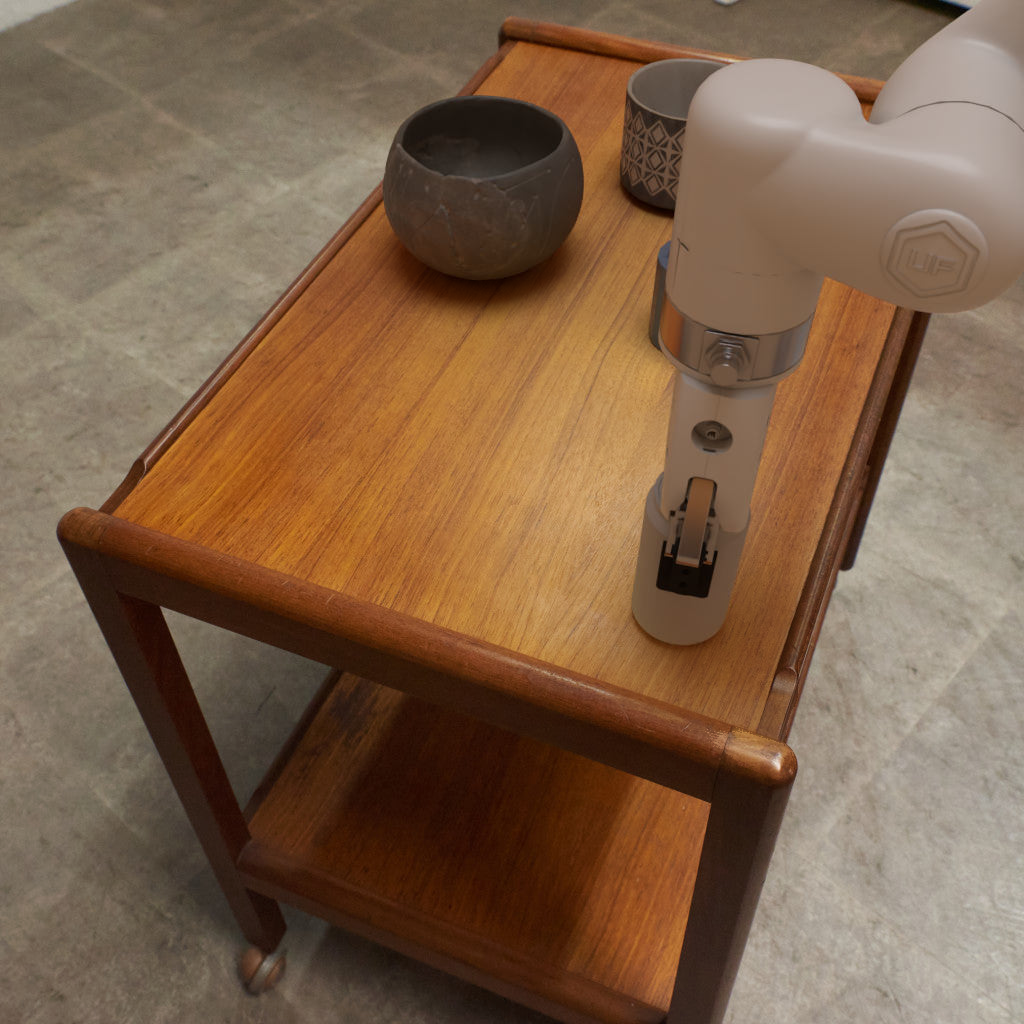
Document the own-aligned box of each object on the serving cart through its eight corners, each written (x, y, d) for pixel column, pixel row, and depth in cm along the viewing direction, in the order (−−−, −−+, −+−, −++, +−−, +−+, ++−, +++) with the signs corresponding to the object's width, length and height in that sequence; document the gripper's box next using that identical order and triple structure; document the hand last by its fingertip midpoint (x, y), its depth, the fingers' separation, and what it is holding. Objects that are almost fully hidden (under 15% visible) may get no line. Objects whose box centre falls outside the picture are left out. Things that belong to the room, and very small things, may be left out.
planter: (739, 157, 113) (757, 60, 105) (745, 224, 104) (764, 124, 96) (620, 151, 113) (628, 54, 106) (616, 217, 105) (625, 117, 97)
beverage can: (612, 596, 73) (627, 476, 64) (690, 563, 75) (715, 442, 66) (663, 665, 70) (685, 547, 61) (743, 629, 72) (777, 509, 63)
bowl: (358, 290, 97) (342, 163, 87) (434, 190, 108) (427, 68, 99) (543, 332, 93) (547, 203, 83) (602, 224, 104) (611, 100, 95)
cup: (724, 319, 94) (739, 242, 88) (715, 363, 90) (730, 285, 84) (655, 308, 95) (664, 231, 89) (643, 351, 91) (652, 273, 85)
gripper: (796, 447, 48) (733, 671, 61) (821, 236, 59) (763, 464, 72) (631, 418, 49) (605, 644, 62) (686, 217, 60) (654, 444, 74)
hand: (690, 545), depth 67 cm, fingers closed on beverage can, 6 cm apart
